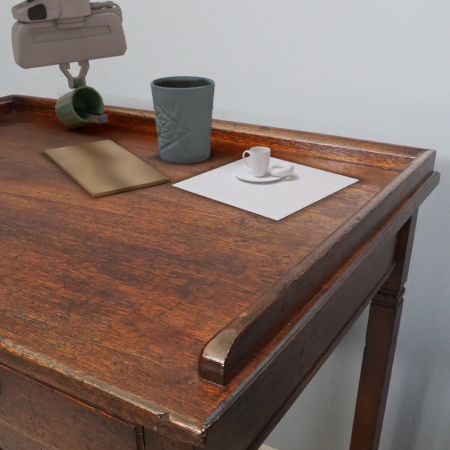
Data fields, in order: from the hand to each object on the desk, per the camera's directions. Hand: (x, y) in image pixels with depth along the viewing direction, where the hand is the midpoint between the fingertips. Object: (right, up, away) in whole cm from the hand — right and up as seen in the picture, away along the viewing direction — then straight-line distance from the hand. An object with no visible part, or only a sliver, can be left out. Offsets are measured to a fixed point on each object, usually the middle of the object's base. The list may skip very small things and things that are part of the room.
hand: (77, 87), depth 114 cm
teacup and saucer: (+33, -22, -22) cm, 46 cm away
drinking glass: (+21, -15, -10) cm, 28 cm away
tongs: (+2, -5, -1) cm, 6 cm away
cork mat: (+8, -18, -15) cm, 25 cm away
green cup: (-2, -3, +4) cm, 6 cm away
